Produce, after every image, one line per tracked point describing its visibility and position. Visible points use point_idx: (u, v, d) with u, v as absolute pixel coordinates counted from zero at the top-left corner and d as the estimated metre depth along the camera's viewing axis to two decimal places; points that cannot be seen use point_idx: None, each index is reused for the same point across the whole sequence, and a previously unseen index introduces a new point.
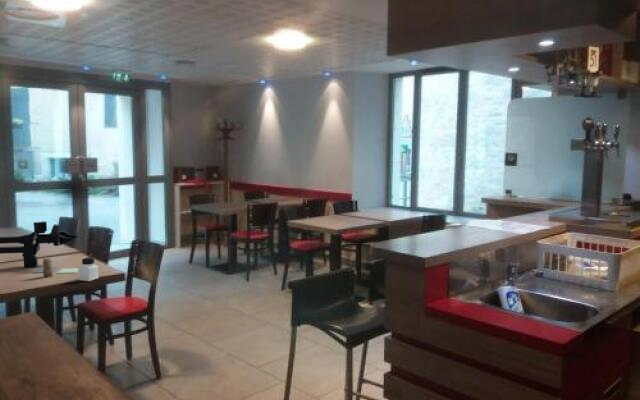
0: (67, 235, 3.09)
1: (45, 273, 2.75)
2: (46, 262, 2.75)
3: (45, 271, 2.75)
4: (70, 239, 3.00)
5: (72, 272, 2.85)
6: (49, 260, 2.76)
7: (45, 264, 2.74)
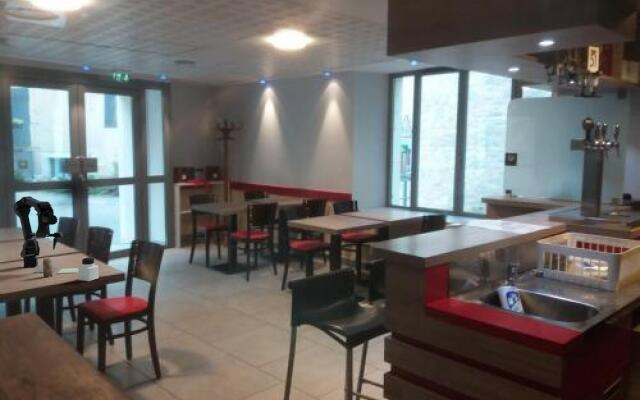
0: None
1: (45, 273, 2.75)
2: (46, 262, 2.75)
3: (45, 271, 2.75)
4: None
5: (72, 272, 2.85)
6: (49, 260, 2.76)
7: (45, 264, 2.74)
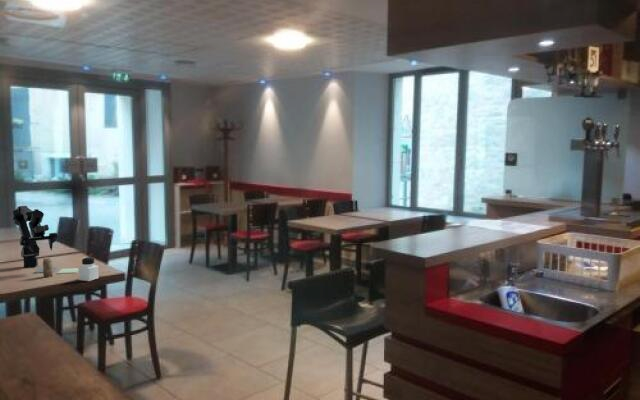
0: (50, 241, 2.87)
1: (45, 273, 2.75)
2: (46, 262, 2.75)
3: (45, 271, 2.75)
4: (31, 249, 2.79)
5: (72, 272, 2.85)
6: (49, 260, 2.76)
7: (45, 264, 2.74)
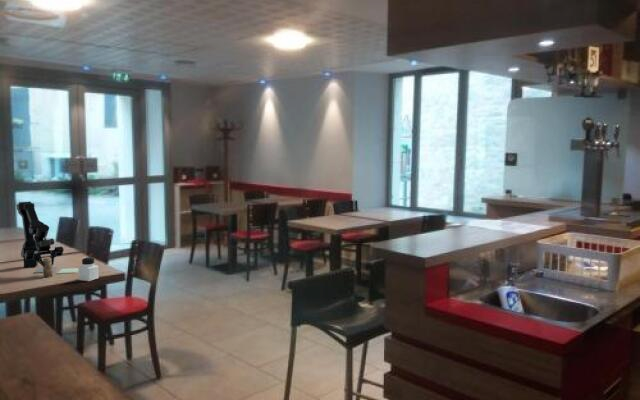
0: (51, 255, 2.79)
1: (45, 273, 2.75)
2: (46, 262, 2.75)
3: (45, 271, 2.75)
4: (41, 264, 2.74)
5: (72, 272, 2.85)
6: (49, 260, 2.76)
7: (45, 264, 2.74)
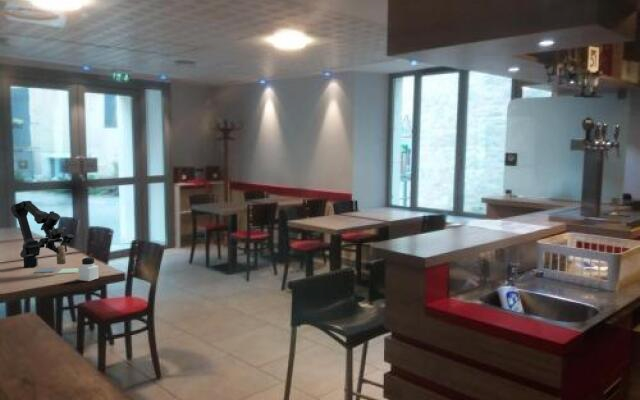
0: (63, 243, 2.86)
1: (59, 260, 2.82)
2: (61, 249, 2.81)
3: (59, 258, 2.81)
4: (56, 251, 2.81)
5: (72, 272, 2.85)
6: (63, 247, 2.83)
7: (60, 251, 2.81)
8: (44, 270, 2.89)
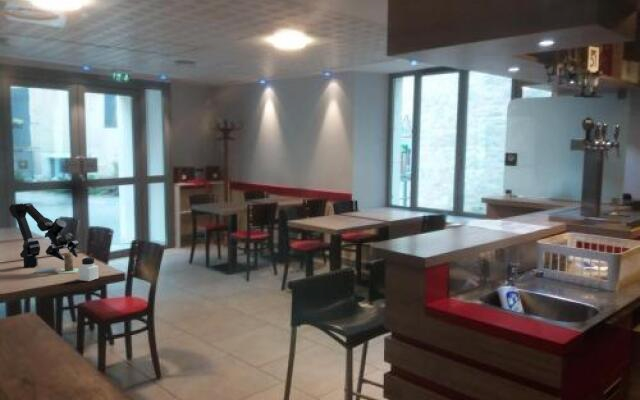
0: (73, 248, 2.94)
1: (68, 267, 2.87)
2: (69, 256, 2.87)
3: (68, 265, 2.87)
4: (61, 258, 2.84)
5: (72, 272, 2.85)
6: (71, 254, 2.88)
7: (68, 258, 2.87)
8: (44, 270, 2.89)
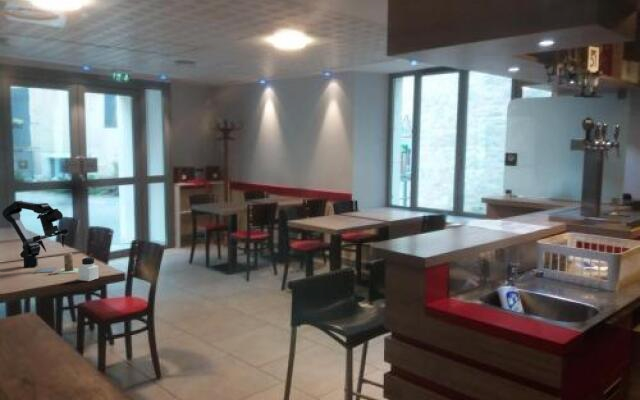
0: (61, 238, 2.96)
1: (68, 267, 2.87)
2: (69, 256, 2.87)
3: (68, 265, 2.87)
4: (44, 249, 2.91)
5: (72, 272, 2.85)
6: (71, 254, 2.88)
7: (68, 258, 2.87)
8: (44, 270, 2.89)
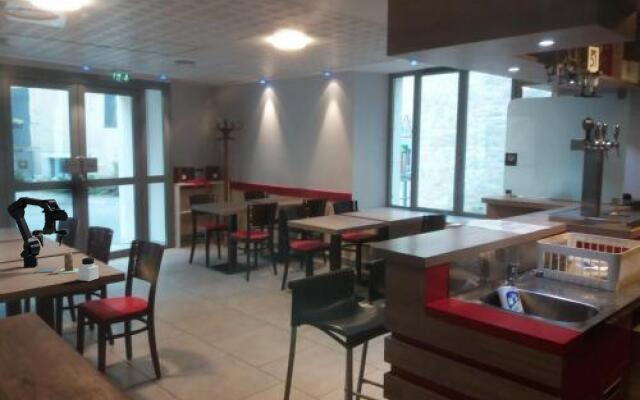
0: (59, 237, 2.96)
1: (68, 267, 2.87)
2: (69, 256, 2.87)
3: (68, 265, 2.87)
4: None
5: (72, 272, 2.85)
6: (71, 254, 2.89)
7: (68, 258, 2.87)
8: (44, 270, 2.89)
